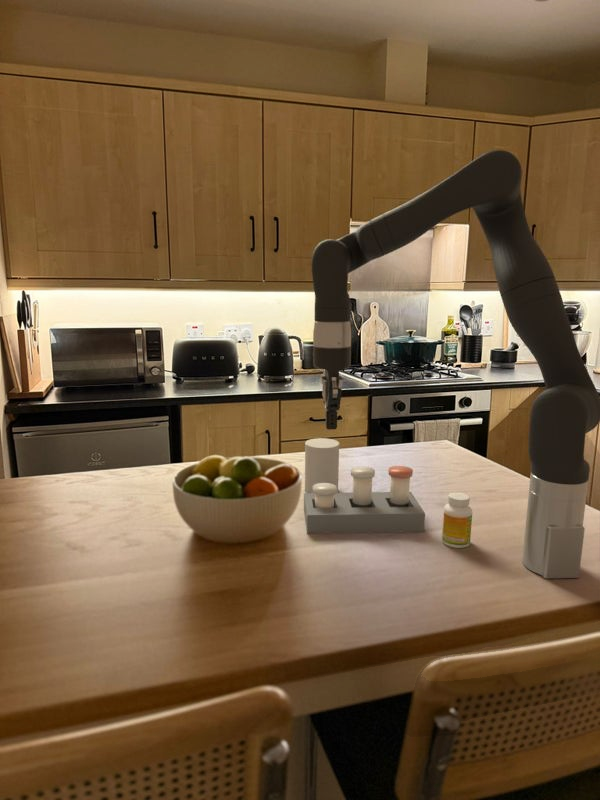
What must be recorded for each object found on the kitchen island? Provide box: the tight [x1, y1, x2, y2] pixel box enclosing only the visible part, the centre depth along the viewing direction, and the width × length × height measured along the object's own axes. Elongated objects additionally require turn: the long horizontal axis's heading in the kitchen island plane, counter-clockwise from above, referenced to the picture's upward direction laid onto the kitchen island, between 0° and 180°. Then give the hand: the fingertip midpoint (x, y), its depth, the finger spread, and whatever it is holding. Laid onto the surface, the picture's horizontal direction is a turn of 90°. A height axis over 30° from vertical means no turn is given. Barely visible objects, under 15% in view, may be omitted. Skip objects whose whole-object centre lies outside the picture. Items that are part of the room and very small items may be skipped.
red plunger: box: [388, 465, 414, 505], centre depth 121 cm, size 5×5×7 cm
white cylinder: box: [304, 437, 340, 493], centre depth 139 cm, size 8×8×12 cm
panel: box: [303, 491, 426, 535], centre depth 122 cm, size 12×24×4 cm, turn 93°
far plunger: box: [313, 483, 337, 508], centre depth 121 cm, size 5×5×7 cm
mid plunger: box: [350, 465, 376, 505], centre depth 121 cm, size 5×5×7 cm
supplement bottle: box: [441, 492, 473, 549], centre depth 112 cm, size 5×5×10 cm
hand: (331, 428), depth 118 cm, fingers closed
